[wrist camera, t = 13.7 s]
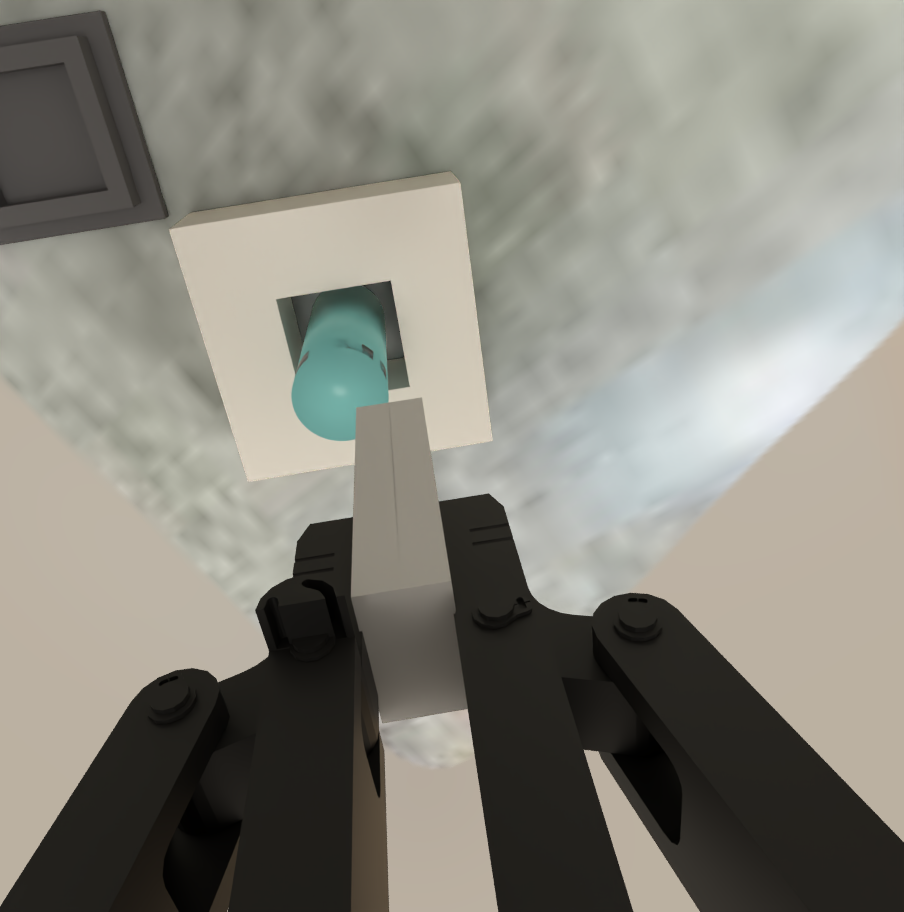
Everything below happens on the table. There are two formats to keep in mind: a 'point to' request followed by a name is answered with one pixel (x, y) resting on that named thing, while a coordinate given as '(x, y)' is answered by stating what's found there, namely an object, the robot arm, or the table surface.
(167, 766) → the robot arm
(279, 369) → the port
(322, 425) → the plug
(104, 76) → the grey square socket
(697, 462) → the table surface
